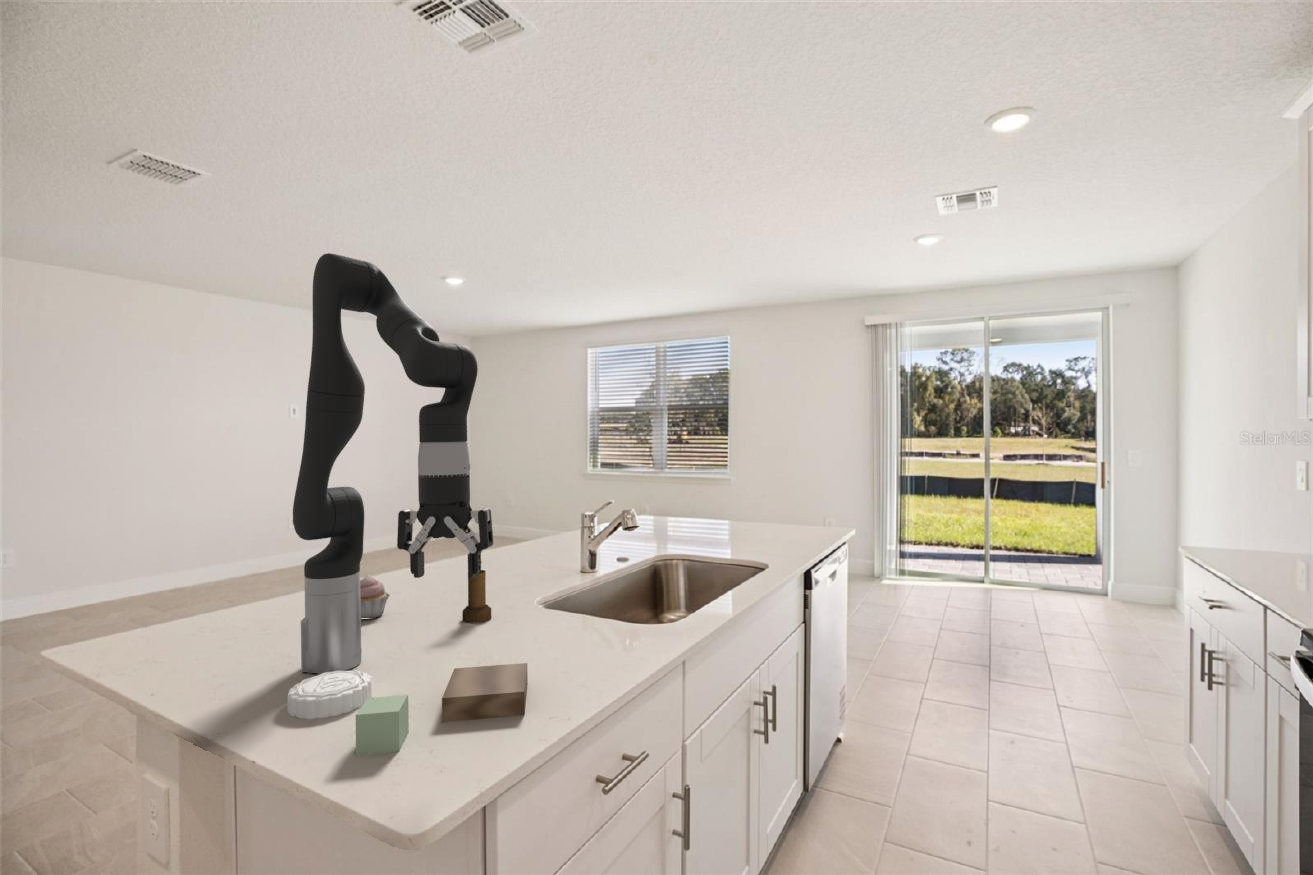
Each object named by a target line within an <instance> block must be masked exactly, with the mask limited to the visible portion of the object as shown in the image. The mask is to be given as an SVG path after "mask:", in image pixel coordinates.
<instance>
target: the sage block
mask: <svg viewBox="0 0 1313 875" xmlns="http://www.w3.org/2000/svg"><path fill="white" fill-rule="evenodd" d="M409 724H410V723H409V694H400V695H398V694H397V695H385V696H376V697H375V696H374V697H371V698H367V699H366V701H365V702H364V704H362V706H361V707H359V708H358V710H357V712H356V714H355V755H356V756H364V755H375V754H383V753H385V754H386V753H394V752H400V751H401V749H402V747H403V745H404V743H405V741H406V739H407V737H408V734H409V732H410V730H409V728H410V726H409Z"/></svg>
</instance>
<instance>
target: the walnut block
mask: <svg viewBox="0 0 1313 875" xmlns="http://www.w3.org/2000/svg"><path fill="white" fill-rule="evenodd" d="M528 678H529V677H528V663H527V662H522V663H521V662H520V663H509V664H496V665H483V666H481V665H479V666H469V667H456V668H454V669H453V671H452V673H451V675H450V677H449V680H448V683H447V686H446V688H445V690H444V693H443V695H442V697H441V716H442V718H441V722H442V723H450V722H451V723H452V722H461V721H462V722H463V721H472V720H473V721H474V720H475V721H476V720H484V719H495V718H508V717H517V716H525V715H526V704H527V694H528V680H529V679H528Z"/></svg>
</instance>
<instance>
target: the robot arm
mask: <svg viewBox="0 0 1313 875" xmlns="http://www.w3.org/2000/svg"><path fill="white" fill-rule="evenodd" d="M342 310H344V311H350V312H356V313H357V312H358V313H368V314H371V315H374V316H375V317H376V323H375V324H376V325H375V326H376V329H377V332H378V334H379V337H380V338H381V339H382V341H383V342H384V343H385V344H386V345H387V346H388V347H389V348H390V349H391V350H392V351H393V352H394V353H395V354H396V355H398V359H399V360H400V363H401V364H402V367H403V370H404V372H405V375H406V376H407V378H408V379H409V381H411V382H413V383H414V384H416V385H418V386H421V387H424V388H435V389H436V388H438V389H439V388H440V389H444V391H443V392H444V393H443V395H442V397H441V399H440V401H439V402H438V401H437V402H433V403H429V404H425V405H423V406H421V408H420V409H419V413H418V425H419V426H418V429H419V430H418V434H419V435H418V436H419V437H418V439H419V440H418V441H419V444H418V445H419V448H418V453H417V454H418V455H417V475H418V476H417V480H418V481H417V482H418V483H417V484H418V485H417V486H418V489H417V490H418V503H419V507H418V509H417V510H413V509H411V508H407V509H402V510H400V511H399V512H398V514H397V538H396V541H397V542H396V543H397V544H396V547H397V549H398V550H404V551H406V552H408V553H409V560H410V561H409V563H410V573H411V575H413V577H414V578H417V579H421V577H424V576H425V551H423V549H424V548H425V547H426V545H427V544H428V542H429V541H431V539H439V538H445V539H454V538H457V540H458V541H459V542H460V543H462V544H463V545H464V546H465V548H466V549H467V550H468V552H469V553H467V578H468V577H469V578H474V577H476V576H477V574H478V573H479V572H480V570H482V562H481V561H482V556H481V555H482V552H483V550H487V549H488V548H490V547H492V546H493V545H494V533H493V521H492V511H491V509H490V508H488V507H486V508H482V509H476V510H474V509H472V507H471V480H470V479H471V477H470V476H471V473H470V472H471V462H470V452H469V445H468V413H469V409H470V405H471V401H472V398H473V393H474V389H475V386H476V381H477V377H478V370H479V369H478V361H477V358H476V356H475V354H474V352H473V350H472V349H471V348H469V347H468V346H467V345H464V344H460V343H454V342H453V343H451V342H444V341H443V342H442V341H440V337H439V335H438V333H437V331H436V330H435V328H434V327H433V326H432V325H431V324H429V322H427V321H426V320H425V319H424V318H423V317H422V316H420V315H419V314H418V313H417V312H415V310H413V309H412V308H411V307H410V306H409V304H407V303H406V301H405V300H404V298H403V296H401V294H400V293H399V292H398V289H396V287H395V286H394V285H393V283H392V282H391V280H390V279H389V277H388V276H387V274H386V273H385V272H384V271H383V270H382V269H381V268H380V267H378V266H377V265H376V264H373V263H372V262H368V261H365V260H362V259H361V260H360V259H357V258H352V257H349V256H345V255H342V254H341V255H340V254H337V253H336V254H335V253H330V252H328V253H324V254H322V255H321V256H320V257H319V258H318V260H317V262H316V263H315V268H314V272H313V280H312V341H311V342H312V343H311V345H312V346H311V355H310V356H311V357H310V359H311V360H310V366H309V367H310V368H309V376H308V382H307V393H306V403H305V405H306V406H305V422H304V423H305V424H304V436H303V443H302V444H303V445H302V446H303V447H302V454H301V455H302V456H301V460H300V466H299V472H298V477H297V482H296V488H295V492H294V499H293V504H292V506H293V507H292V523H293V528H294V531H295V533H296V534H297V536H298V537H299V538H301V539H302V540H303V541H304V540H305V541H315V540H316V541H317V540H323V539H329V538H330V541H329V543H328V544H327V546H325V548H324V549H322V550H321V551H319V552H318V553H316V554H315V555H313V556H312V557H310V558H308V559H306V561H305V563H304V564H303V565H304V566H303V574H304V575H303V576H304V617H303V618H302V619H301V620H300V653H301V654H300V661H301V662H300V663H301V665H300V668H301V669H300V670H301V672H302V674H303V672H308V674H312V673H317V674H316V675H320V674H323V673H325V672H334V671H337V670H338V671H349V670H351V669H354V668H355V667H357V666H359V665H360V664H361V662H362V650H363V649H362V620H361V599H360V580H361V562H362V558H363V554H364V535H365V534H364V530H365V506H364V501H363V498H362V495H361V493H360V492H359V491H358V490H357V489H356V488H355V487H351V486H336V487H328V486H329V481H330V477H331V476H330V475H331V472H332V469H333V467H334V465H335V462H336V460H337V458H338V457H339V455H340V454H341V453H342V451H343V450H344V448H345V447H346V445H348V443H349V442H350V441H351V439H352V438H353V436H354V435H355V433H356V432H357V430H358V428H359V427H360V425H361V422H362V419H363V414H364V404H365V393H366V392H365V391H366V386H365V381H364V378H363V376H362V374H361V371H360V369H359V368H358V366H357V364H356V361H355V360H354V358H353V356H352V354H351V353H350V350H349V348H348V346H347V344H346V342H345V338H344V336H343V335H344V334H343V328H342ZM472 519H474V523H475V524H477V525H478V534H479V535H478V536H479V539H478V537H476V533H475V532H474V531H473V529H472V528H471V527H470V526H469V523H470V522H471V520H472ZM416 520H418V522H419V523H420V525H421V526H422V527H421V528H420V530H419V532H418V533H417V534H416V535H415V538H414V540H413V532H414V531H413V529H414V528H413V527H414V524H415V523H416ZM481 551H482V552H481Z"/></svg>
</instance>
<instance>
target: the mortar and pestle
mask: <svg viewBox="0 0 1313 875" xmlns="http://www.w3.org/2000/svg"><path fill="white" fill-rule="evenodd" d="M481 553H483V550H482V551H481ZM482 562H483V561H482V560H481V563H482ZM486 574H487V573H486V570H484V569H481V570H480V572H479V573H478V574H477V576H476V577H474V578H469V577H468V576H467V598H468V599H467V605H466V606H465V607H464V609H463V610H462V613H461V614H462V616H461V617H462V618H461V619H462V622H465V623H469V624H473V623H474V624H476V623H477V624H478V623H479V624H480V623H483V622H487V621H488V622H489V621H490V620H492V617H493V616H492V607H491V606H489V605H488V604H487V602H486V600H487V598H486V593H487V592H486V591H487V590H486V583H487V582H486V577H487V576H486Z"/></svg>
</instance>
